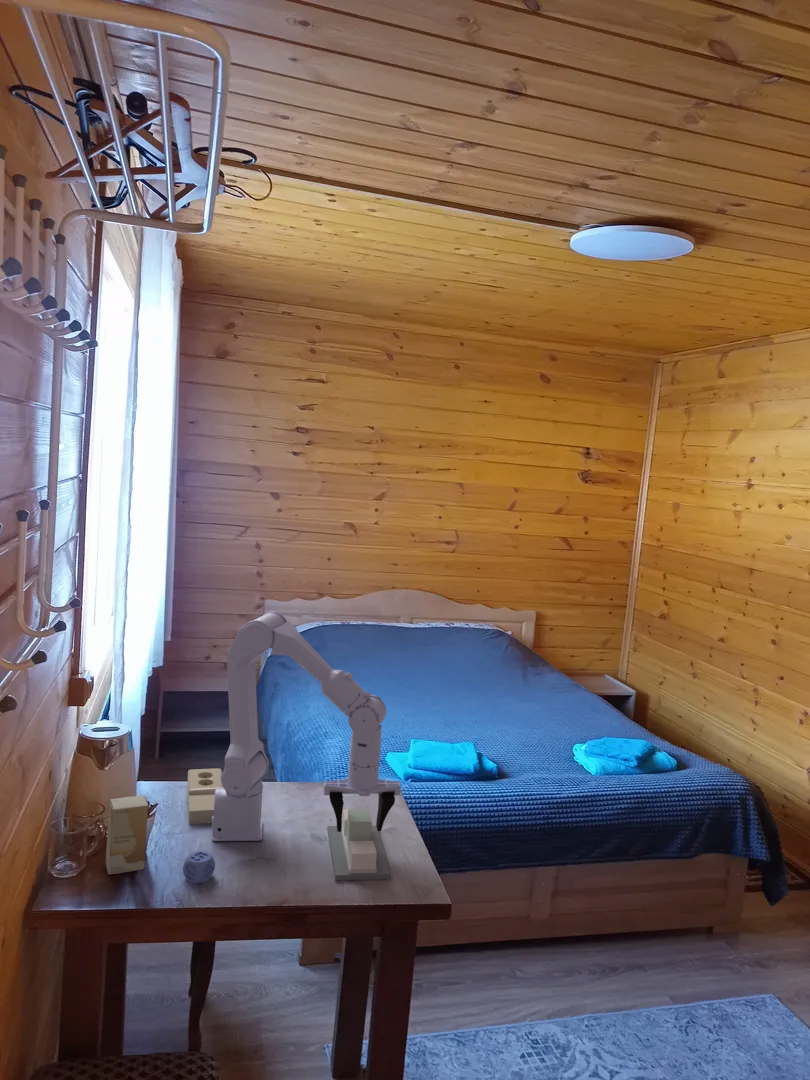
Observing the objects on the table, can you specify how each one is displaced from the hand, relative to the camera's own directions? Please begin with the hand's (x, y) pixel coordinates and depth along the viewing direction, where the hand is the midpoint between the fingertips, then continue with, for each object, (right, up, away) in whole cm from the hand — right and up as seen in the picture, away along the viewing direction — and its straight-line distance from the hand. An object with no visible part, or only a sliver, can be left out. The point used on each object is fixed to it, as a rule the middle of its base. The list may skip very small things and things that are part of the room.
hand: (358, 829), depth 150 cm
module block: (0, -3, 0) cm, 3 cm away
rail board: (0, -5, +1) cm, 5 cm away
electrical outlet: (-33, -1, +16) cm, 37 cm away
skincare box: (-41, -3, -10) cm, 42 cm away
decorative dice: (-28, -5, -12) cm, 30 cm away
